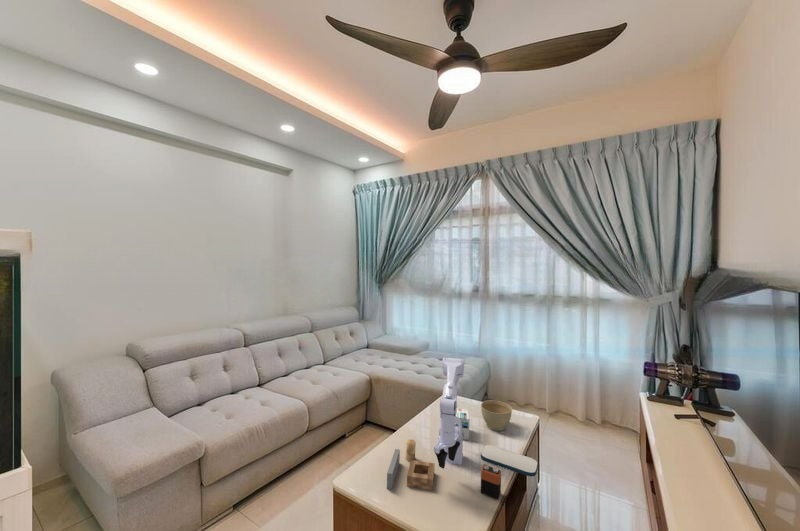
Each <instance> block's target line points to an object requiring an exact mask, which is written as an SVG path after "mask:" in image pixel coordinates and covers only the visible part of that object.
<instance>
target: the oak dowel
mask: <svg viewBox="0 0 800 531" xmlns="http://www.w3.org/2000/svg"><path fill="white" fill-rule="evenodd" d="M405 447H406V451H405V452H406V453H405V459H406V461H407V462H409V463H410V461H411V460H415V461H416V440H414V439H408V440H406V446H405Z"/></svg>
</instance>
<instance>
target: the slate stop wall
mask: <svg viewBox="0 0 800 531" xmlns="http://www.w3.org/2000/svg"><path fill="white" fill-rule="evenodd" d="M400 453H401V449H399V448H398V449H397V448H395V449H394V451H393V454H392V457H391V461H390V464H389V466H388V470H387V472H386V490H387V489H388V490H393V486H394V482H395V480H396V478H397V477H396V476H397V473H398V469H399V466H400V458H401V456H400V455H401V454H400Z"/></svg>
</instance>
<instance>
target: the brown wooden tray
mask: <svg viewBox="0 0 800 531" xmlns="http://www.w3.org/2000/svg"><path fill="white" fill-rule="evenodd" d="M407 470H408V471H407V473H406V487H409V488H417V489H423V490H429V491H433V489H434V478H435V463H434V462H427V461H421V460H416V459H415V460H411V461H410V462H409V467H408V469H407Z"/></svg>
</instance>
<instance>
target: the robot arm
mask: <svg viewBox="0 0 800 531" xmlns="http://www.w3.org/2000/svg"><path fill="white" fill-rule="evenodd" d="M441 366H442V368H441V369H442V374H443V375H444V376H445V377H446V383H445V384H444V385H443V388H442V397H441V399H440V402H439V415H440V419H439V426H438V436H437V439H438V441H437V443H436V445H435V446H434V447H433V452H434V454H435V456H436V459H437V463H438V467H440V468H441V469H443V470H444V469H445V466H446V464H454V465H460V466H461V465H463V458H464V452H463V450H464V449H463V446H464V445H463V444H464V443H463V442H464V441H463V439H461V434H462V422H461V420H460V419H459V418H458V417H457V416H456V413H457V408H458V401H457V398H458V384H459V379H461V378H463V377H464V372H465V360H464V358H456V357H454V358H453V357H445V356H444V357H443V358H442V365H441ZM457 424H458V425H457Z"/></svg>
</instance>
